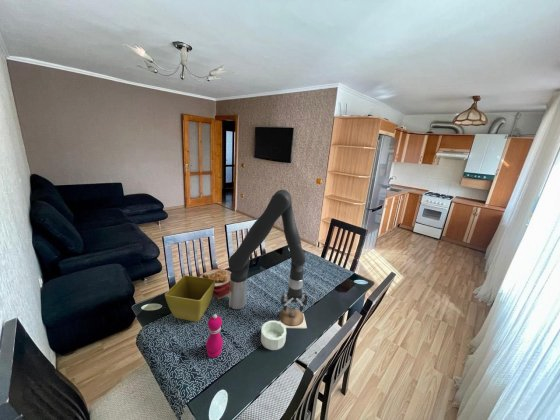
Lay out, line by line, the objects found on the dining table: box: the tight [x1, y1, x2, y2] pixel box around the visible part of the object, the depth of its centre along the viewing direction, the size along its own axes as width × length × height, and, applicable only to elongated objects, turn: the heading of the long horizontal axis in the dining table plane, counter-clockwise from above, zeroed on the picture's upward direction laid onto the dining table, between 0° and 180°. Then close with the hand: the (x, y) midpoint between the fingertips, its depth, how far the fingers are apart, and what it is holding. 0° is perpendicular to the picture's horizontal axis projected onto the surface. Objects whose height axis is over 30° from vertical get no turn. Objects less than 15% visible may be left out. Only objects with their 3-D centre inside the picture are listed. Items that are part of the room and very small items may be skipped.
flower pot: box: [164, 275, 215, 323], centre depth 121 cm, size 19×19×17 cm
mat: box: [278, 312, 308, 330], centre depth 126 cm, size 15×15×1 cm
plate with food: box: [196, 267, 232, 292], centre depth 149 cm, size 24×26×4 cm
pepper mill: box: [205, 313, 224, 358], centre depth 99 cm, size 7×7×20 cm
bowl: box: [260, 320, 287, 351], centre depth 110 cm, size 12×12×6 cm
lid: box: [279, 306, 305, 326], centre depth 125 cm, size 14×14×6 cm
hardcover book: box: [212, 286, 230, 301], centre depth 143 cm, size 12×21×4 cm, turn 43°
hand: (292, 310), depth 125 cm, fingers open, 8 cm apart
